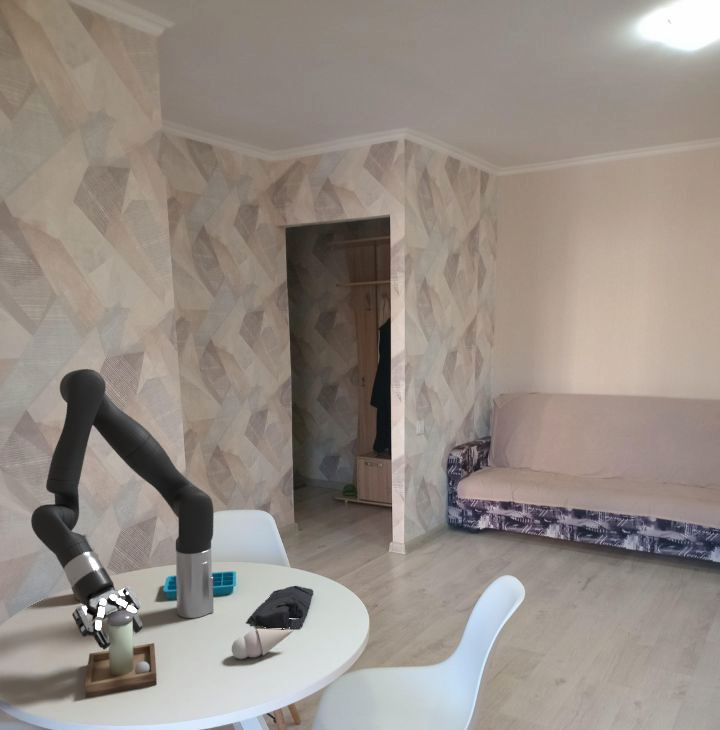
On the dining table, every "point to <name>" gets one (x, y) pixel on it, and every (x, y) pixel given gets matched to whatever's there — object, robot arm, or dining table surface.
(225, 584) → the ice cube tray
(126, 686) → the tray
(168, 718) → the dining table surface
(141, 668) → the ball
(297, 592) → the dark slate chunk
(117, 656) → the shaker
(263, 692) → the dining table surface
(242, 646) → the ice cream cone
